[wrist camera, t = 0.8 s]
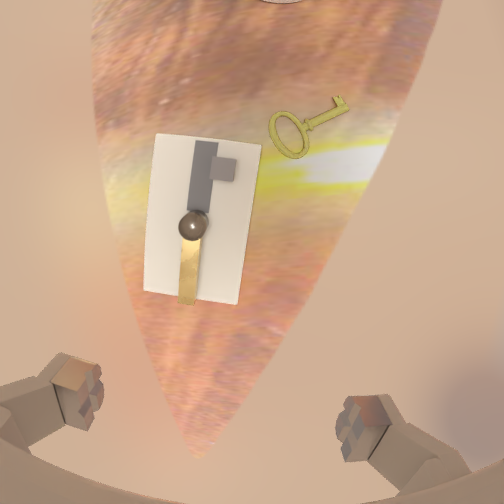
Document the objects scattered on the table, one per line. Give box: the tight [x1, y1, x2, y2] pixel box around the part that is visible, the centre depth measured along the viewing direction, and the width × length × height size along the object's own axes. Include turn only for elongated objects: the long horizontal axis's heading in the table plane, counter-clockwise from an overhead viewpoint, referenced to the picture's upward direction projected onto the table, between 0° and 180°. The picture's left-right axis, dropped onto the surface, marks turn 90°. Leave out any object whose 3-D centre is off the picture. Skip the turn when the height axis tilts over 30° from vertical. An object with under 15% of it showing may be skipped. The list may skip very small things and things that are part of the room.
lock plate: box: [144, 133, 262, 305], centre depth 42 cm, size 24×15×4 cm, turn 171°
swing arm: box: [178, 210, 209, 306], centre depth 43 cm, size 13×4×4 cm, turn 171°
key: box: [269, 95, 349, 159], centre depth 40 cm, size 7×12×2 cm, turn 138°
